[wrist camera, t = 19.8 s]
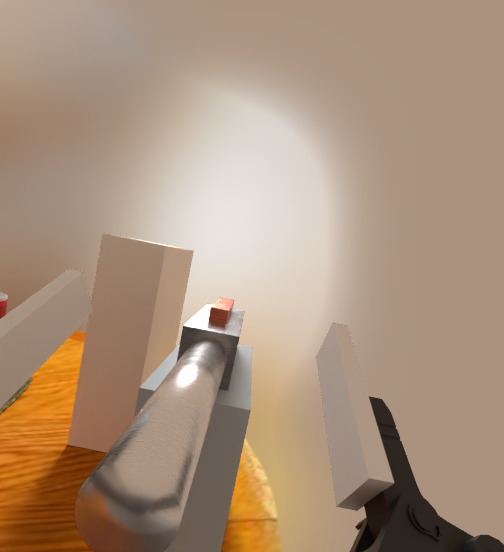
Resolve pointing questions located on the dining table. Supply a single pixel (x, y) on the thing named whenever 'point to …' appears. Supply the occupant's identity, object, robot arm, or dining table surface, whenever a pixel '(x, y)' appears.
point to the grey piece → (161, 444)
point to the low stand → (211, 456)
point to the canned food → (3, 304)
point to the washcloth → (16, 395)
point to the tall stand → (126, 334)
